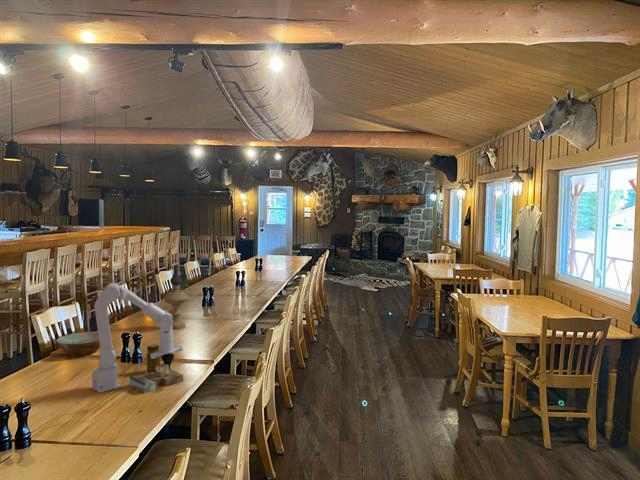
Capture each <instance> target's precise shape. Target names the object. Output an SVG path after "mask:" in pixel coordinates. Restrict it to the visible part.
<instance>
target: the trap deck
mask: <svg viewBox="0 0 640 480" xmlns="http://www.w3.org/2000/svg"><path fill="white" fill-rule="evenodd" d="M169 373H170V374H167V375H165V376H163V377H160V376H158V375H157V374H156V373H154V372H152V373H148V374H141V375H138V376H137V375H136V376H133V375H129V376H128V377H129V378H128V379H129V381H128V382H129V385H128V386H130V387H131V388H133V389H136V390H138V391H140V392H142V393H143V394H146V393H150V392H153V391H157V390H160V389H163V388H165V387H169V386H173V385H175V384H179V383H182V382H184V374H182V373H179V372H177V371H175V370H173V369H170V371H169Z"/></svg>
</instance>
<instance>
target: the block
mask: <svg viewBox="0 0 640 480" xmlns="http://www.w3.org/2000/svg"><path fill="white" fill-rule="evenodd" d="M155 368H156V374H157V375H158V376H160V377H163V376H165V375H167V374H170V373H169V366H168V365H167V364H165V363H164V362H163V363H160V365H158V366H155Z"/></svg>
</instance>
